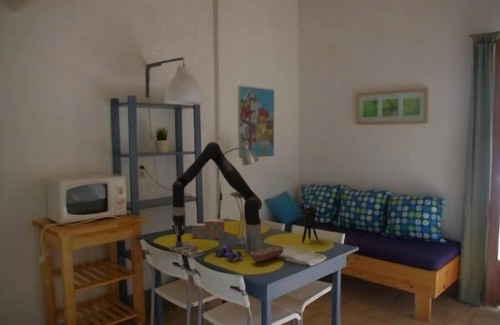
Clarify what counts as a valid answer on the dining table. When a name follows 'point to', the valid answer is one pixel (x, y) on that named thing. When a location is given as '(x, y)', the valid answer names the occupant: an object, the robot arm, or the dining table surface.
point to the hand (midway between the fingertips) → (179, 241)
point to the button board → (187, 251)
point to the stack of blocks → (209, 229)
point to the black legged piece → (309, 221)
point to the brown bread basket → (266, 253)
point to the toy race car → (228, 253)
